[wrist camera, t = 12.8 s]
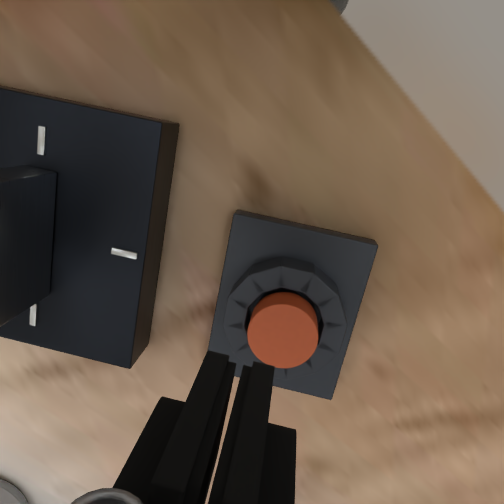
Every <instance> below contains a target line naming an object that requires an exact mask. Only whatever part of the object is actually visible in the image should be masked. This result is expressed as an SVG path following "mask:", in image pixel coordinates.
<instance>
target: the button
mask: <svg viewBox="0 0 504 504" xmlns="http://www.w3.org/2000/svg"><path fill="white" fill-rule="evenodd" d="M247 338H248V343H249V346H250V348H251V350H252V352H253V353H254V354H255V356H256V357H257V358H258V359H260V360H261V361H262V362H264V363H265V364H268V365H272V366H275V367H276V368H292V367H296V366H298V365H301V364H303V363H304V362H306V361H307V360H308V359H309V358H310V357H311V356H312V355H313V353H314V352H315V350H316V347H317V344H318V323H317V316H316V313H315V311H314V309H313V307H312V306H311V304H310V303H309V302H308V301H307V300H305V299H304V298H303V297H301V296H299V295H297V294H294V293H290V292H276V293H272V294H269V295H267V296H265V297H264V298H262V299H261V300H260V301H259V302H258V303H257V305H256V306H255V308H254V310H253V312H252V316H251V319H250V323H249V326H248V331H247Z"/></svg>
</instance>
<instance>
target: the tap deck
mask: <svg viewBox="0 0 504 504" xmlns="http://www.w3.org/2000/svg"><path fill="white" fill-rule="evenodd" d="M178 132H179V123H175V122H171V121H166V120H161V119H156V118H152V117H147V116H142V115H138V114H133V113H128V112H123V111H119V110H114V109H109V108H105V107H100V106H95V105H90V104H86V103H81V102H76V101H72V100H67V99H62V98H57V97H53V96H48V95H43V94H39V93H34V92H29V91H24V90H20V89H15V88H10V87H6V86H1V85H0V168H6V167H14V166H22V165H27V166H31V167H36V168H40V169H45V170H49V171H53V172H56V173H57V178H56V194H55V211H54V227H53V244H52V260H51V277H50V293H49V296H47V297H45V298H44V299H42V300H41V301H39V302H38V303H36V304H35V305H33V306H31V307H30V308H28V309H27V310H25V311H24V312H22V313H20V314H19V315H17V316H16V317H14V318H13V319H11V320H10V321H8V322H6V323H5V324H3V325H2V326H0V337H4V338H8V339H12V340H16V341H20V342H24V343H28V344H32V345H36V346H40V347H44V348H48V349H52V350H56V351H60V352H64V353H68V354H72V355H76V356H80V357H84V358H88V359H92V360H96V361H100V362H104V363H108V364H112V365H116V366H120V367H124V368H128V369H131V367H132V366H133V364H134V363H135V362H136V360H137V359H138V358H139V356H140V355H141V354H142V352H143V351H144V349H145V348H146V347H147V345H148V344H149V337H150V330H151V323H152V315H153V308H154V301H155V294H156V287H157V280H158V273H159V266H160V259H161V252H162V245H163V238H164V231H165V224H166V216H167V209H168V202H169V195H170V188H171V181H172V174H173V167H174V160H175V153H176V146H177V139H178Z"/></svg>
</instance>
